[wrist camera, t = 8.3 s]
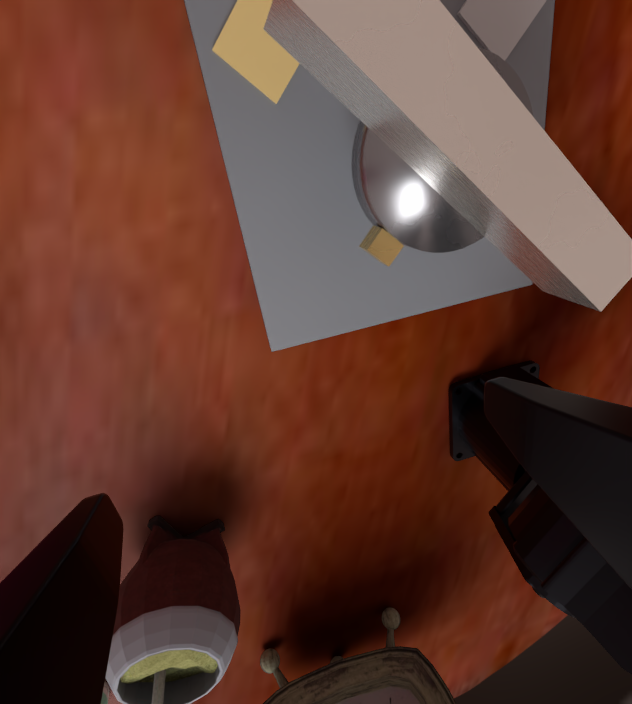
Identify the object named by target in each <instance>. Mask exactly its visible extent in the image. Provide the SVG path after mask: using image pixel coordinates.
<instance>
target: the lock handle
mask: <svg viewBox="0 0 632 704" xmlns="http://www.w3.org/2000/svg"><path fill="white" fill-rule="evenodd" d="M263 30H264V31H266V32H267V33H268V34H269V35H270V36H271V37H272V38H273V39H274V40H275V41H276V42H277V43H278V44H279V45H280V46H282V47H283V48H284V49H285V50H286V51H287V52H288V53H289V54H290V55H291V56H292V57H293V58H294V59H295V60H297V61H298V62H299V63H300V64H301V65H302V66H303V67H304V68H305V69H306V70H307V71H308V72H309V73H310V74H311V75H313V76H314V77H315V78H316V79H317V80H318V81H319V82H320V83H321V84H322V85H323V86H324V87H325V88H326V89H327V90H329V91H330V92H331V93H332V94H333V95H334V96H335V97H336V98H337V99H338V100H339V101H340V102H341V103H342V104H343V105H345V106H346V107H347V108H348V109H349V110H350V111H351V112H352V113H353V114H354V115H355V116H356V117H357V118H358V119H359V120H360V121H359V124H358V127H357V130H356V134H355V137H354V143H353V149H352V162H351V164H352V178H353V184H354V189H355V192H356V196H357V199H358V201H359V204H360V206H361V208H362V210H363V212H364V213H365V215H366V217H367V218H368V220H369V221H370V222H371V223H372V225H373V226H372V228H371V229H370V231H369V232H368V234H367V235H366V237H365V238H364V239H363V241H362V242H361V244H360V245H359V247H361V248H362V249H363V250H365V251H366V252H367V253H369V254H370V255H371V256H373V257H374V258H375V259H376V260H378V261H379V262H381V263H383V264H385V265H386V266H388V267H389V266H390V265H391V263H392V262H393V261H394V259H395V258H396V256H397V255H398V254H399V252H400V251H401V249H402V248H403V247H404V245H406V246H409V247H411V248H414V249H418V250H421V251H425V252H432V253H444V252H451V251H455V250H459V249H462V248H465V247H467V246H469V245H472V244H474V243H475V242H477V241H479V240H480V239H482V238H483V237H485V238H487V239H488V240H489V241H490V242H491V243H492V244H493V245H494V246H495V247H496V248H497V249H498V250H499V251H500V252H501V253H503V254H504V255H505V256H506V257H507V258H508V259H509V260H510V261H511V262H512V263H513V264H514V265H515V266H516V267H517V268H519V269H520V270H521V271H522V272H523V273H524V274H525V275H526V276H527V277H528V278H529V279H530V280H531V281H532V282H533V283H535V284H536V285H537V286H538V287H539V288H540V289H541V290H542V291H543V292H546V293H549V294H552V295H555V296H557V297H560V298H563V299H566V300H569V301H572V302H574V303H577V304H580V305H583V306H586V307H589V308H592V309H594V310H597V311H600V312H601V311H602V310H603V309H604V308H605V307H606V306H607V304H608V303H609V302H610V301H611V300H612V299H613V298H614V297H615V295H616V294H617V293H618V292H619V291H620V290H621V289H622V287H623V286H624V285H625V284H626V283H627V282H628V281H629V280H630V278H631V277H632V239H631V238H630V237H629V236H628V234H627V233H626V232H625V231H624V229H623V228H622V227H621V226H620V224H619V223H618V222H617V221H616V219H615V218H614V217H613V216H612V214H611V213H610V212H609V211H608V209H607V208H606V207H605V206H604V204H603V203H602V202H601V201H600V199H599V198H598V197H597V196H596V194H595V193H594V192H593V191H592V189H591V188H590V187H589V186H588V184H587V183H586V182H585V181H584V179H583V178H582V177H581V176H580V174H579V173H578V172H577V171H576V170H575V168H574V167H573V166H572V165H571V163H570V162H569V161H568V160H567V158H566V157H565V156H564V155H563V153H562V152H561V151H560V150H559V148H558V147H557V146H556V145H555V143H554V142H553V141H552V140H551V138H550V137H549V136H548V135H547V133H546V132H545V131H544V130H543V128H542V127H541V126H540V125H539V123H538V122H537V121H536V120H535V118H534V117H533V111H532V106H531V103H530V100H529V96H528V93H527V91H526V89H525V87H524V85H523V83H522V81H521V79H520V78H519V76H518V75H517V73H516V72H515V71H514V70H513V68H512V67H511V66H510V65H509V64H508V63H507V62H506V61H504V60H503V59H502V58H501V57H499V56H498V55H496V54H494V53H492V52H491V51H489V50H486V49H483V48H480V47H477V46H476V45H475V44H474V42H473V41H472V40H471V39H470V37H469V36H468V35H467V34H466V32H465V31H464V30H463V29H462V27H461V26H460V25H459V24H458V22H457V21H456V20H455V19H454V17H453V16H452V15H451V14H450V12H449V11H448V10H447V9H446V8H445V6H444V5H443V4H442V3H441V1H440V0H273V1H272V4H271V7H270V11H269V14H268V17H267V20H266V23H265V26H264V29H263Z"/></svg>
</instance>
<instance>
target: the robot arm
mask: <svg viewBox="0 0 632 704" xmlns="http://www.w3.org/2000/svg"><path fill="white" fill-rule="evenodd" d="M531 367H532V368H531ZM538 378H539V365H538V364H537V363H535V362H534V361H527V362H524V363H520V364H517V365H512V366H508V367H505V368H501V369H498V370H495V371H491V372H488V373H484V374H482V375H479V376H475V377H472V378H468V379H465V380H461V381H458V382H455V383H453V384H452V385H451V386H450V387H449V422H450V455H451V457H452V458H453V459H454V460H455V461H460V460H463V459H466V458H470V457H473V456H476V457H477V458H478V459H479V460H480V461H481V462H482V463H483V464H484V466H485V467H486V468H487V469H488V470H489V471H490V472H491V473H492V474H493V475H494V476H495V477H496V478H497V480H498V481H499V482H500V483H501V484H502V485H503V486H504V487H505V488H506V489H507V490H508V492H507V494H506V495H505V496H504V497H503V498H502V500H501V501H500V502H499V503H498V504H497V506H494V507H493V508H492V509H491V510H490V511H489V515H490V517H491V518H492V520H493V522H494V524H495V527H496V529H497V530H498V532H499V534H500V536H501V538H502V539H503V541H504V543H505V545H506V547H507V548H508V550H509V552H510V554H511V556H512V557H513V559H514V561H515V563H516V565H517V566H518V568H519V570H520V572H521V574H522V575H523V577H524V579H525V580H526V581H527V582H528V583H529V584H530V585H531V586H532V588H533V590H534V591H535V592H536V593H537V594H538V595H539V596H540V597H542V598H546V599H547V600H548V601H549V602H551V603H552V604H553V605H554V606H556V607H557V608H558V609H560V610H561V611H563V612H564V613H566V614H568V615H570V616H572V617H574V618H576V619H577V620H578V621H580V622H581V623H582V624H583V625H584V627H586V629H587V630H588V631H589V632H590V633H591V634H592V635H593V636H594V637H595V638H596V639H597V641H598V642H599V643H600V644H601V645H602V646H603V647H604V648H605V650H606V651H607V652H608V653H609V654H610V655H611V656H612V657H613V658H614V659H615V661H616V662H617V663H618V664H619V665H620V666H621V667H622V668H623V669H624V670H626V671H627V672H629V673H631V674H632V407H628V406H623V405H619V404H615V403H611V402H607V401H602V400H598V399H594V398H590V397H586V396H581V395H577V394H573V393H569V392H565V391H561V390H556V389H554V388H552V387H550V386H549V385H547V384H546V383H544V382H542V381H541V380H539V379H538ZM458 388H459V389H458ZM457 389H458V391H456V390H457ZM122 543H123V522H122V519H121V517H120V515H119V514H118V512H117V510H116V508H115V506H114V505H113V503H112V501H111V499H110V498H109V496H108V495H107V494H105V493H100V494H97V495H93V496H90V497H87V498H85V499H83V500H82V501H81V502H80V503H79V504H78V505H77V506H76V507H75V508H74V509H73V510H72V511H71V512H70V513H69V514H68V515H67V516H66V517H65V518H64V519H63V520H62V521H61V522H60V523H59V524H58V525H57V526H56V527H55V528H54V529H53V530H52V531H51V532H50V533H49V534H48V535H47V536H46V537H45V538H44V539H43V540H42V541H41V542H40V543H39V544H38V545H37V546H36V547H35V548H34V549H33V550H32V551H31V552H30V553H29V554H28V555H27V556H26V557H25V558H24V559H23V560H22V561H21V562H20V564H19V565H18V566H17V567H16V568H15V569H14V570H13V571H12V572H11V573H10V574H9V575H8V576H7V577H6V578H5V579H4V580H3V581H2V582H1V583H0V704H101V700H102V694H103V688H104V683H105V677H106V671H107V665H108V660H109V654H110V648H111V643H112V637H113V631H114V625H115V620H116V614H117V607H118V601H119V590H120V575H121V559H122Z"/></svg>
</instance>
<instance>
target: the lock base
mask: <svg viewBox="0 0 632 704" xmlns="http://www.w3.org/2000/svg"><path fill="white" fill-rule="evenodd" d="M272 1H273V0H184V3H185V7H186V11H187V15H188V19H189V23H190V27H191V31H192V35H193V39H194V43H195V47H196V51H197V55H198V59H199V63H200V67H201V71H202V75H203V79H204V83H205V87H206V91H207V95H208V99H209V103H210V107H211V111H212V115H213V119H214V123H215V127H216V131H217V135H218V139H219V143H220V147H221V151H222V155H223V159H224V163H225V167H226V171H227V175H228V179H229V183H230V187H231V192H232V196H233V200H234V204H235V208H236V212H237V216H238V220H239V224H240V228H241V232H242V236H243V240H244V244H245V248H246V252H247V256H248V260H249V264H250V268H251V272H252V276H253V280H254V284H255V288H256V292H257V296H258V300H259V304H260V308H261V312H262V316H263V320H264V324H265V328H266V332H267V336H268V340H269V344H270V348H271V351H272V352H273V351H277V350H281V349H285V348H288V347H292V346H296V345H300V344H304V343H308V342H312V341H316V340H319V339H323V338H327V337H331V336H335V335H339V334H343V333H347V332H350V331H354V330H358V329H362V328H366V327H370V326H374V325H378V324H381V323H385V322H389V321H393V320H397V319H401V318H405V317H409V316H412V315H416V314H420V313H424V312H428V311H432V310H436V309H440V308H443V307H447V306H451V305H455V304H459V303H463V302H467V301H471V300H474V299H478V298H482V297H486V296H490V295H494V294H498V293H502V292H505V291H509V290H513V289H517V288H521V287H525V286H529V285H532V281H531V280H530V279H529V278H528V277H527V276H526V275H525V274H524V273H523V272H522V271H521V270H520V269H519V268H517V267H516V266H515V265H514V264H513V263H512V262H511V261H510V260H509V259H508V258H507V257H506V256H505V255H504V254H503V253H501V252H500V251H499V250H498V249H497V248H496V247H495V246H494V245H493V244H492V243H491V242H490V241H489V240H488V239H487V238H485V237H483V238H482V239H480V240H479V241H477V242H475V243H474V244H472V245H469V246H467V247H465V248H462V249H459V250H455V251H451V252H444V253H432V252H425V251H421V250H418V249H414V248H411V247H409V246H406V245H404V247H403V248H402V249H401V251H400V252H399V254H398V255H397V256H396V258H395V259H394V261H393V262H392V263H391V265H390V266H389V267H388V266H386V265H385V264H383V263H381V262H379V261H378V260H376V259H375V258H374V257H373V256H371V255H370V254H369V253H367V252H366V251H365V250H363V249H362V248H361V247H359V245H360V244H361V242H362V241H363V239H364V238H365V237H366V235H367V234H368V232H369V231H370V229H371V228H372V226H373V225H372V223H371V222H370V221H369V220H368V218H367V217H366V215H365V213H364V212H363V210H362V208H361V206H360V204H359V201H358V199H357V196H356V192H355V189H354V184H353V178H352V164H351V162H352V149H353V143H354V137H355V134H356V130H357V127H358V124H359V121H360V120H359V119H358V118H357V117H356V116H355V115H354V114H353V113H352V112H351V111H350V110H349V109H348V108H347V107H346V106H345V105H343V104H342V103H341V102H340V101H339V100H338V99H337V98H336V97H335V96H334V95H333V94H332V93H331V92H330V91H329V90H327V89H326V88H325V87H324V86H323V85H322V84H321V83H320V82H319V81H318V80H317V79H316V78H315V77H314V76H313V75H311V74H310V73H309V72H308V71H307V70H306V69H305V68H304V67H303V66H302V65H301V64H300V63H299V62H298V61H297V60H295V59H294V58H293V57H292V56H291V55H290V54H289V53H288V52H287V51H286V50H285V49H284V48H283V47H282V46H280V45H279V44H278V43H277V42H276V41H275V40H274V39H273V38H272V37H271V36H270V35H269V34H268V33H267V32H266V31H264V30H263V29H264V26H265V23H266V20H267V17H268V14H269V11H270V7H271V4H272ZM440 1H441V3H442V4H443V5H444V6H445V8H446V9H447V10H448V11H449V12H450V14H451V15H452V16H453V17H454V19H455V20H456V21H457V22H458V24H459V25H460V26H461V27H462V29H463V30H464V31H465V32H466V34H467V35H468V36H469V37H470V39H471V40H472V41H473V42H474V44H475V45H476V46H477V47H480V48H483V49H486V50H489V51H491V52H492V53H494V54H496V55H498V56H499V57H501V58H502V59H503V60H504V61H506V62H507V63H508V64H509V65H510V66H511V67H512V68H513V70H514V71H515V72H516V73H517V75H518V76H519V78H520V79H521V81H522V83H523V85H524V87H525V89H526V91H527V93H528V96H529V100H530V103H531V106H532V111H533V117H534V118H535V120H536V121H537V122H538V123H539V125H540V126H541V127H542V128H543V130H544V131H545V118H546V106H547V93H548V80H549V68H550V55H551V43H552V30H553V17H554V5H555V0H440Z"/></svg>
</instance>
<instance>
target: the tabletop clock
mask: <svg viewBox="0 0 632 704" xmlns="http://www.w3.org/2000/svg"><path fill="white" fill-rule="evenodd" d="M382 623H383V625H384V626H385V627H386V628H387V639H386V648H383V649H378V650H374V651H371V652H367V653H363V654H359V655H356V656H352V657H348V658H343V657H341V656H335V657H334V658H333V659H332V660H331V661H330V664H328V665H326V666H324V667H322V668H320V669H317V670H315V671H313V672H311V673H308V674H306V675H304V676H302V677H300V678H298V679H295V680H293V681H291V682H288V681H287V679H286V678H285V676H284V675H283V674H282V672H281V671H280V669H279V668H278V666H279V663H280V658H279V654H278V653H277V651H276V650H274V649H272V648H270V649H267V650H265V651H264V652H263V653H262V655H261V659H260V665H261V668H262V669H263V671H264V672H266V673H274V676H275V678H276V680H277V682H278V684H279V687H280V689H279V690H277V691H276V692H275V693H274V694H273V695H272V696H271V697H270V698H268V699H267V700H266V701H265V702H264V703H263V704H456V702H455V700H454V698H453V697H452V695H451V693H450V691H449V689H448V688H447V686H446V684H445V683H444V681H443V680H442V678H441V677H440V675H439V674H438V672H437V671H436V669H435V668H434V666H433V665H432V664H431V663H430V662H429V660H428V659H427V658H426V657H425V656H424V655H423V654H422V653H421V652H420V651H419V650H418V649H417V648H410V647H401V646H398V647H395V643H394V630H395V629H397V628H398V626H399V624H400V615H399V613H398V612H397V610H396V609H394V608H391V607H389V608H386V609H385V610H384V611H383V613H382Z"/></svg>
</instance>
